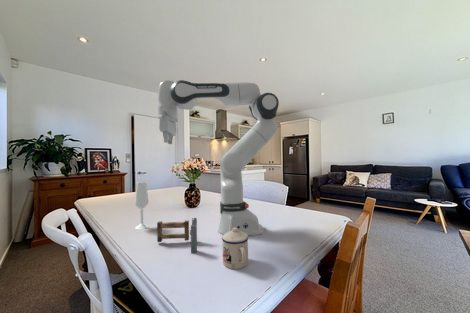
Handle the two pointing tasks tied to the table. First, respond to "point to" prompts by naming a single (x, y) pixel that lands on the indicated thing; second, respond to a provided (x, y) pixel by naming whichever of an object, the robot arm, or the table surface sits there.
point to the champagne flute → (141, 201)
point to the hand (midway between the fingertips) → (168, 143)
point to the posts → (193, 235)
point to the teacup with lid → (235, 249)
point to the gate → (172, 225)
